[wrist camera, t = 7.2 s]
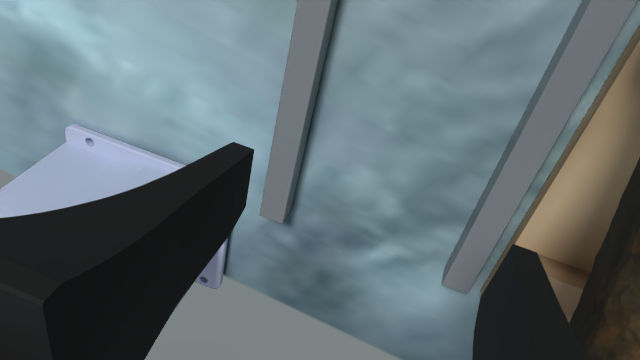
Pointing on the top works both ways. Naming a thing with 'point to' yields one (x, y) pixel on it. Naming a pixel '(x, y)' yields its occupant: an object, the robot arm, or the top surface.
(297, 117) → the socket channel
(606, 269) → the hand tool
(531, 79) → the top surface
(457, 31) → the top surface
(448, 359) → the top surface
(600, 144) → the rack
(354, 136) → the top surface
